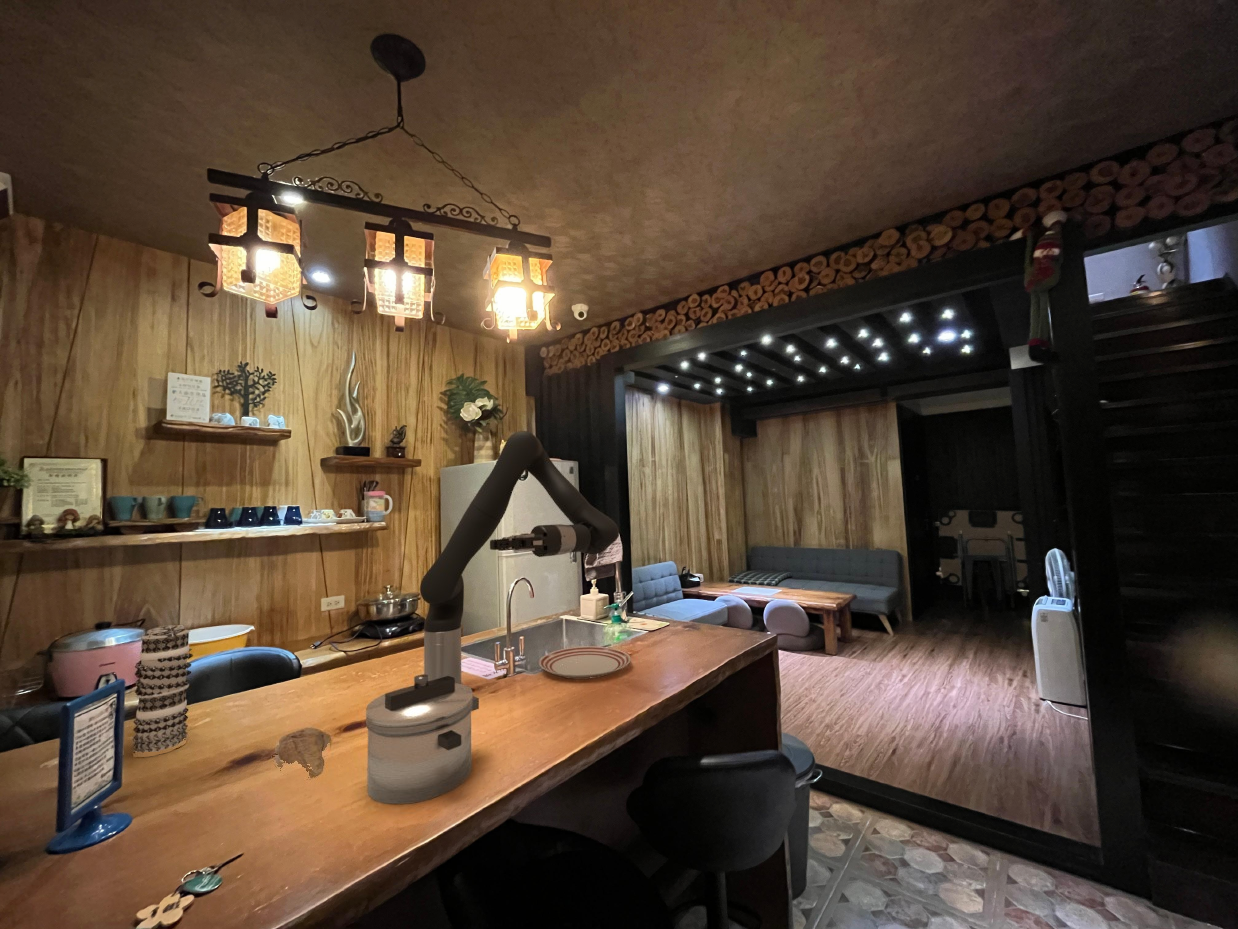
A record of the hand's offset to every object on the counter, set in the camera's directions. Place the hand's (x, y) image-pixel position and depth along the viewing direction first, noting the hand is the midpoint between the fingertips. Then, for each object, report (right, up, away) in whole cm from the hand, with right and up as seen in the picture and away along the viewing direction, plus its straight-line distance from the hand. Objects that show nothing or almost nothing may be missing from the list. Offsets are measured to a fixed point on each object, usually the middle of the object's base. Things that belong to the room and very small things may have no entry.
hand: (491, 544), depth 110 cm
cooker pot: (-8, -39, -20) cm, 44 cm away
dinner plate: (+18, -44, +40) cm, 62 cm away
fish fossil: (-36, -41, -10) cm, 56 cm away
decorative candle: (-69, -42, -4) cm, 81 cm away
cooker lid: (-8, -26, -19) cm, 33 cm away
